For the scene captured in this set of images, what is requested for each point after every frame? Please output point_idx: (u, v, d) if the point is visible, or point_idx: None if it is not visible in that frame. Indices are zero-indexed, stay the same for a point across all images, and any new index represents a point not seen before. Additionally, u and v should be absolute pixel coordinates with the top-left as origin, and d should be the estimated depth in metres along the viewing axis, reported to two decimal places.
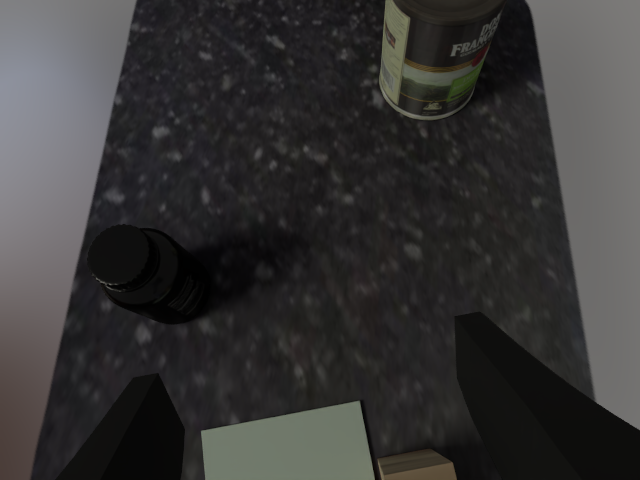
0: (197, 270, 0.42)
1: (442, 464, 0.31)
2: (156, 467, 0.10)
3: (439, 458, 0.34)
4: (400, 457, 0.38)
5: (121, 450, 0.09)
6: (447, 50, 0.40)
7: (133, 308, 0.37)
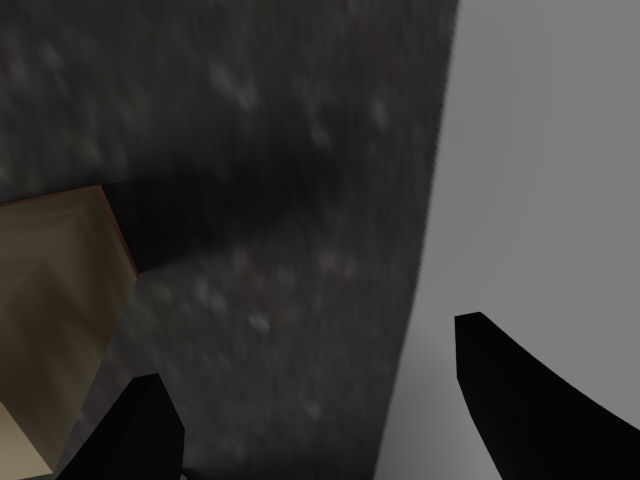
0: None
1: None
2: (156, 467, 0.10)
3: (9, 284, 0.14)
4: (7, 223, 0.18)
5: (121, 450, 0.09)
6: None
7: None
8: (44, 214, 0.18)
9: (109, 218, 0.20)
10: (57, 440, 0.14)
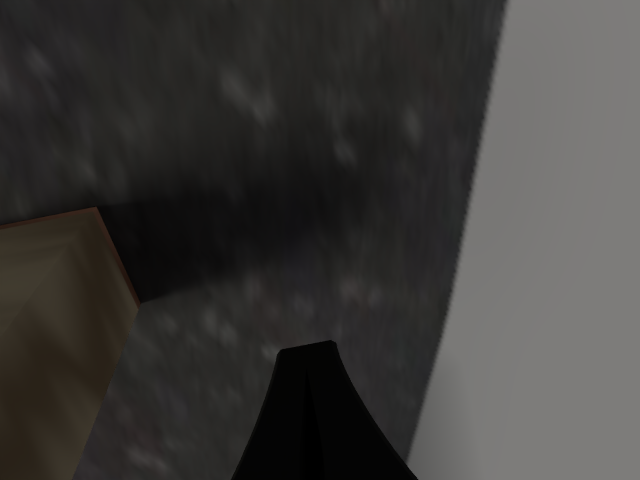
0: None
1: None
2: (317, 437, 0.10)
3: None
4: None
5: (304, 415, 0.09)
6: None
7: None
8: (32, 243, 0.16)
9: (107, 244, 0.18)
10: None
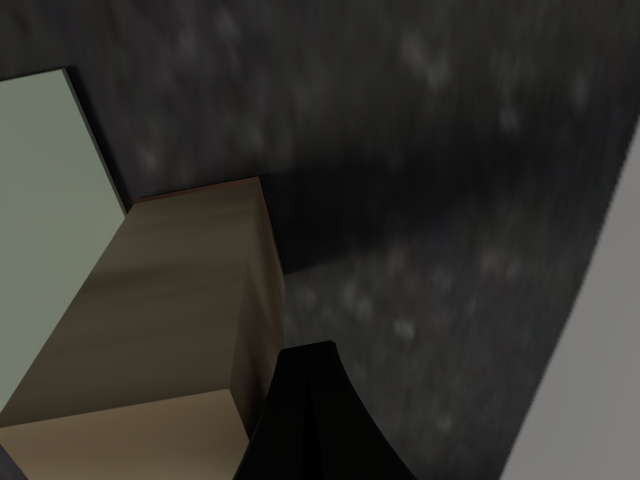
0: None
1: (195, 391, 0.09)
2: (318, 437, 0.10)
3: (226, 296, 0.11)
4: (170, 220, 0.15)
5: (305, 415, 0.09)
6: None
7: None
8: (211, 210, 0.15)
9: (266, 214, 0.18)
10: None
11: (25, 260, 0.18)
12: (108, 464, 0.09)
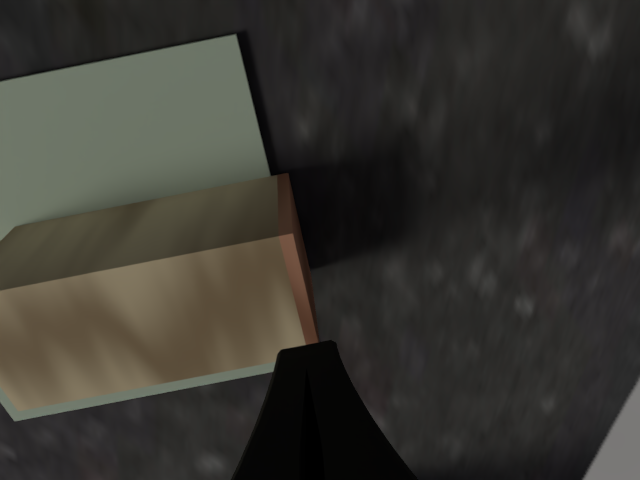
0: None
1: None
2: (317, 437, 0.10)
3: (46, 275, 0.14)
4: (218, 206, 0.16)
5: (304, 415, 0.09)
6: None
7: None
8: (220, 224, 0.14)
9: (286, 276, 0.14)
10: (35, 398, 0.15)
11: None
12: None
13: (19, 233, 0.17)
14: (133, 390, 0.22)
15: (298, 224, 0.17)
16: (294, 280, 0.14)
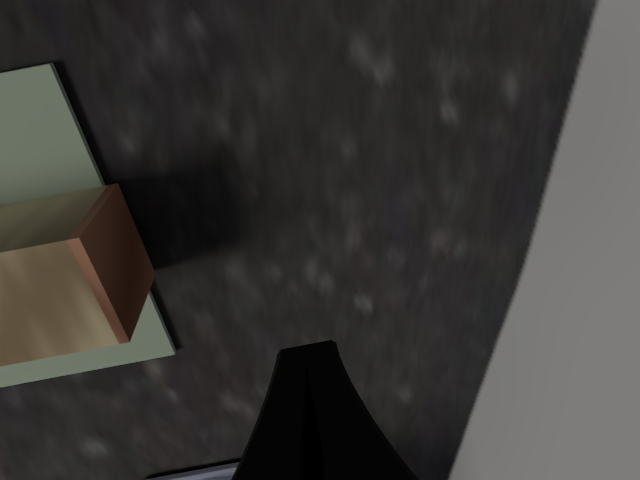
0: None
1: None
2: (317, 437, 0.10)
3: None
4: (42, 213, 0.18)
5: (304, 415, 0.09)
6: None
7: None
8: (32, 229, 0.17)
9: (81, 274, 0.16)
10: None
11: None
12: None
13: None
14: (8, 378, 0.24)
15: (128, 228, 0.19)
16: (90, 278, 0.16)
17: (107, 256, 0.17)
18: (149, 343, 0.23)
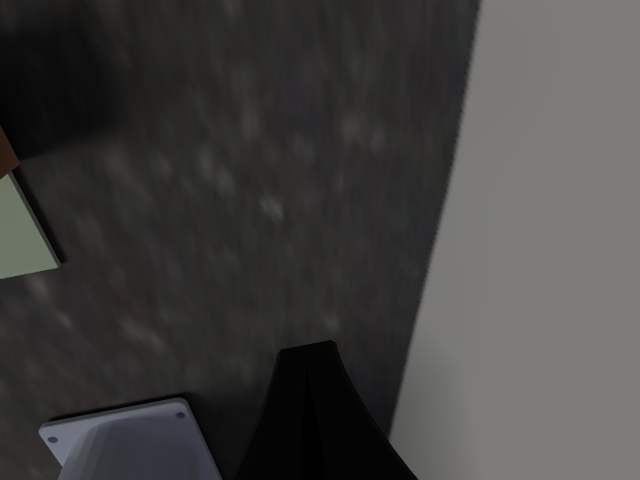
0: None
1: None
2: (317, 437, 0.10)
3: None
4: None
5: (303, 416, 0.09)
6: None
7: None
8: None
9: None
10: None
11: None
12: None
13: None
14: None
15: None
16: None
17: None
18: (26, 252, 0.21)
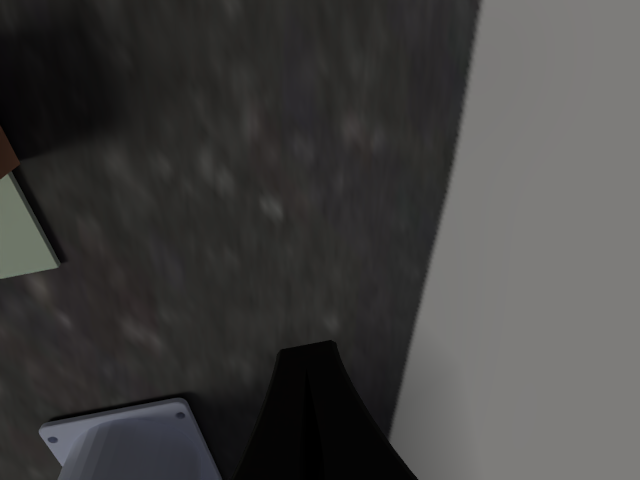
0: None
1: None
2: (317, 437, 0.10)
3: None
4: None
5: (303, 416, 0.09)
6: None
7: None
8: None
9: None
10: None
11: None
12: None
13: None
14: None
15: None
16: None
17: None
18: (26, 252, 0.21)
